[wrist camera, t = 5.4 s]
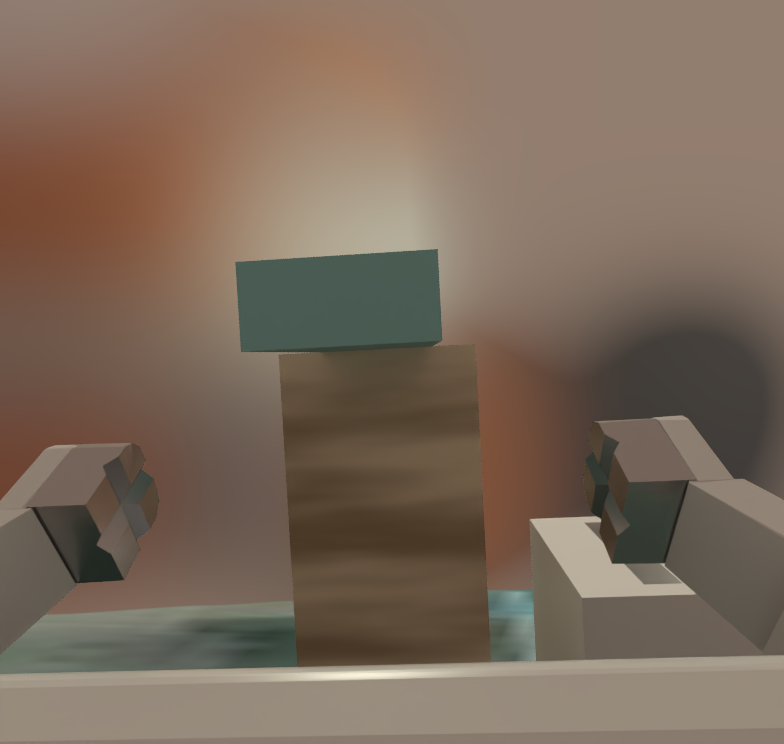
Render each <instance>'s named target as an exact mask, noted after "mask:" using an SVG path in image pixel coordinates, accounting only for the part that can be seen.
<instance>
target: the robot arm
mask: <svg viewBox="0 0 784 744" xmlns="http://www.w3.org/2000/svg"><path fill="white" fill-rule="evenodd" d="M588 441H589V443H590V446H591V448H592V450H593V452H592V454H590V455H589V456H588V457H587V459H586V460H585V465H584V474H583V476H584V490H585V494H586V498H587V502H588V505H589V507H590V510H591V512H592V513H593V514H595V515H596V516H597V517H599V518H600V519H601V525H600V530H599V533H600V535H601V538H602V540H603V543H604V545H605V548H606V550H607V553H608V555H609V558H610V560H611V563H612V564H654V563H665V567H666V568H667V569H669V570H670V571H671V572H672V573H673V574H674V575H675V576H677V577H678V578H679V579H680V580H681V581H682V582H683V583H685V584H686V585H687V586H688V587H689V588H690V589H691V590H692V591H694V592H695V593H696V594H697V595H698V596H699V597H700V598H702V599H703V600H704V601H705V602H706V603H707V604H708V605H710V606H711V607H712V608H713V609H714V610H715V611H716V612H717V613H719V614H720V615H721V616H722V617H723V618H724V619H725V620H727V621H728V622H729V623H730V624H731V625H732V626H733V627H735V628H736V629H737V630H738V631H739V632H740V633H741V634H742V635H744V636H745V637H746V638H747V639H748V640H749V641H750V642H752V643H753V644H754V645H755V646H756V647H757V648H758V649H759V650H761V651H762V654H761V656H725V657H684V658H644V659H603V660H563V661H522V662H482V663H441V664H402V665H362V666H322V667H283V668H243V669H202V670H159V671H117V672H75V673H35V674H0V744H784V500H782V499H780V498H779V497H777V496H775V495H773V494H771V493H769V492H767V491H765V490H763V489H762V488H760V487H758V486H756V485H754V484H752V483H750V482H748V481H746V480H745V479H733V477H732V476H731V475H730V473H729V472H728V471H727V470H726V468H725V467H724V466H723V464H722V463H721V462H720V460H719V459H718V458H717V456H716V455H715V454H714V452H713V451H712V450H711V448H710V447H709V446H708V444H707V443H706V442H705V441H704V439H703V438H702V436H701V435H700V434H699V433H698V431H697V430H696V428H695V427H694V426H693V424H692V423H691V422H690V420H689V419H688V418H686V417H684V416H669V417H655V418H652V419H635V420H617V421H597V422H593V423H592V425H591V428H590V431H589V437H588ZM145 461H146V459H145V457H144V455H143V453H142V451H141V448H140V446H138V445H135V444H133V443H114V444H81V445H55V446H52V447H50V448H47V449H45V450H44V451H43V452H42V454H41V455H40V456H39V457H38V458H37V459H36V461H35V462H34V463H33V464H32V465H31V466H30V468H29V469H28V470H27V471H26V472H25V473H24V474H23V475H22V477H21V478H20V479H19V480H18V481H17V482H16V483H15V485H14V486H13V487H12V488H11V489H10V490H9V492H8V493H7V494H6V495H5V496H4V497H3V498H2V500H1V501H0V654H1V653H2V652H3V651H5V650H6V649H7V648H8V647H9V646H10V645H11V644H12V643H13V642H15V641H16V640H17V639H18V638H19V637H20V636H21V635H22V634H23V633H25V632H26V631H27V630H28V629H29V628H30V627H31V626H32V625H34V624H35V623H36V622H37V621H38V620H39V619H40V618H41V617H42V616H44V615H45V614H46V613H47V612H48V611H49V610H50V609H51V608H52V607H53V606H55V605H56V604H57V603H58V602H59V601H60V600H61V599H62V598H64V597H65V596H66V595H67V594H68V593H69V592H70V591H71V590H72V589H74V588H75V587H76V586H77V585H76V583H86V582H103V581H118V580H125V578H126V576H127V574H128V572H129V570H130V568H131V566H132V564H133V562H134V560H135V558H136V557H137V554H138V553H139V551H140V547H139V544H138V541H137V539H138V538H139V537H141V536H142V535H144V534H145V533H146V532H147V531H149V530H150V529H151V527H152V525H153V523H154V521H155V519H156V516H157V510H158V503H159V498H158V490H157V487H156V484H155V481H154V479H153V478H152V477H151V476H149V475H148V474H147V473H145V472H144V471H143V470H142V468H143V466H144V463H145Z"/></svg>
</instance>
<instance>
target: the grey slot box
mask: <svg viewBox="0 0 784 744" xmlns="http://www.w3.org/2000/svg"><path fill="white" fill-rule="evenodd" d="M600 525H601V519H600V518H599V517H575V518H574V517H573V518H545V519H530V537H531V559H532V580H533V602H534V624H535V645H536V661H563V660H603V659H644V658H684V657H725V656H761V654H762V651H761V650H759V649H758V648H757V647H756V646H755V645H754V644H753V643H752V642H750V641H749V640H748V639H747V638H746V637H745V636H744V635H742V634H741V633H740V632H739V631H738V630H737V629H736V628H735V627H733V626H732V625H731V624H730V623H729V622H728V621H727V620H725V619H724V618H723V617H722V616H721V615H720V614H719V613H717V612H716V611H715V610H714V609H713V608H712V607H711V606H710V605H708V604H707V603H706V602H705V601H704V600H703V599H702V598H700V597H699V596H698V595H697V594H696V593H695V592H694V591H692V590H691V589H690V588H689V587H688V586H687V585H686V584H685V583H683V582H682V581H681V580H680V579H679V578H678V577H677V576H675V575H674V574H673V573H672V572H671V571H670V570H669V569H667V568H666V567H665V563H654V564H612V563H611V560H610V558H609V555H608V553H607V550H606V548H605V545H604V543H603V540H602V538H601V535H600V533H599V530H600Z"/></svg>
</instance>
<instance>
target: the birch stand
mask: <svg viewBox="0 0 784 744" xmlns="http://www.w3.org/2000/svg"><path fill="white" fill-rule="evenodd" d="M279 367H280V382H281V400H282V415H283V432H284V449H285V466H286V483H287V498H288V516H289V532H290V549H291V565H292V582H293V599H294V615H295V632H296V649H297V665H298V667H322V666H362V665H402V664H441V663H482V662H491V654H490V633H489V613H488V592H487V573H486V552H485V531H484V510H483V491H482V470H481V449H480V430H479V409H478V388H477V369H476V368H477V367H476V347H475V344H468V345H448V346H430V347H412V348H393V349H375V350H356V351H338V352H320V353H302V354H283V355H279Z"/></svg>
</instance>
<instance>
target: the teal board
mask: <svg viewBox="0 0 784 744" xmlns="http://www.w3.org/2000/svg"><path fill="white" fill-rule="evenodd" d="M236 277H237V293H238V309H239V324H240V341H241V352H338V351H356V350H375V349H393V348H412V347H430V346H433V345H435V344H437V343H439V342H441V341H442V327H441V308H440V288H439V268H438V249H434V250H418V251H403V252H387V253H372V254H355V255H340V256H324V257H308V258H292V259H277V260H261V261H247V262H246V261H245V262H236Z"/></svg>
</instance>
